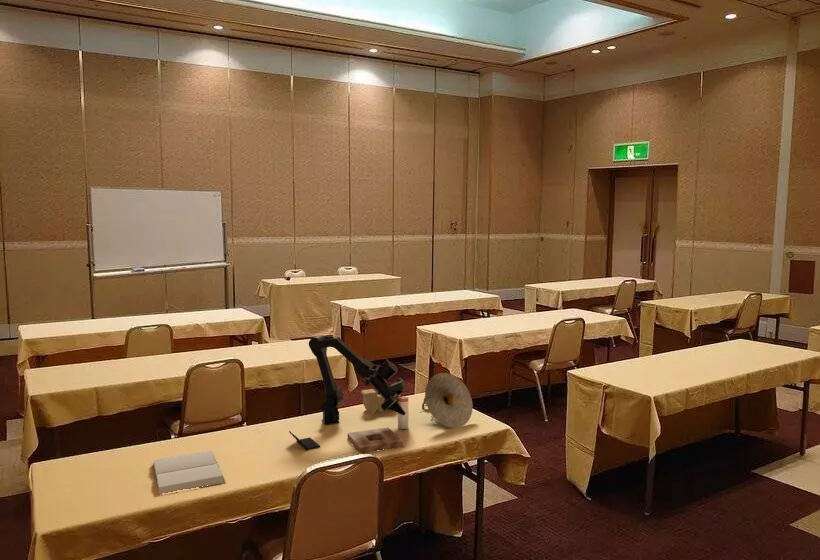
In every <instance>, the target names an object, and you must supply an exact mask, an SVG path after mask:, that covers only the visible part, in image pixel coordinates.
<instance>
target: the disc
mask: <svg viewBox="0 0 820 560" xmlns="http://www.w3.org/2000/svg"><path fill="white" fill-rule="evenodd" d="M424 391H425V392H424V398H425V400H426V403H424V407H427V409H425V410H422V411H420V412H418V413H425V412H428V411H429V413H430V415H431V419H430V422H432V421H433V420H434V419H435V420H436V421H437V422H438V423H440V424H441V425H442V426H444V427H447V428H452V429H457V428H460V427H463V426H464V425H466V424H467V423H468V422H469V421H470V418H471V417H472V414H473V406H474V404H473V400H472V399H473V398H472V397H471V396H472V395H471V392H470V391H469V389H468V387H467V386H466V384H465V383H464V382H463V381H462V380H461V379H460V378H458V377H457V376H455V375H453V374H451V373H448V372H442V373H441V372H440V373H436V374H435V375H433V376H431V378H430V379H429V380H428V382H427V383H426V386H425V390H424Z"/></svg>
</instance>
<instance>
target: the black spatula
mask: <svg viewBox="0 0 820 560" xmlns="http://www.w3.org/2000/svg"><path fill="white" fill-rule="evenodd" d="M288 433H289V434H290V435H291V436H292V437H293V438H294V439H295V440H296V443H297V444H299V445H300V446H301V447H302V448H303V449H304V450H305V451H311V450H314V449H315V450H316V449H319V448H321V445H320V444H319V443H318V442H317V441H315V440H314V439H312V437H305V438H299V437H297V435H295V434H294V433H293V432H292V431H290V430H288Z"/></svg>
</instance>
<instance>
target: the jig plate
mask: <svg viewBox="0 0 820 560" xmlns="http://www.w3.org/2000/svg"><path fill="white" fill-rule="evenodd" d="M347 440H348V441H349V443H350V444H351V443H352V444H353V445H352V444H351V445H352V446H353V447H354V448H355V450H356V451H357V452H358V453H359V454H360V453H362V454H368V453H375V452H378V451H377V450H381V451H386V450H385V449H387V450H392V448H394V449H398V447H400V448H404V440H403V439H402V438H401V437H400V436H399V435H398V434H396V433H395V432H394V431H393V430H392V428H390V427H388V426H387V427H381V428H374V429H367V430H361V431H360V430H359V431H353V432H347ZM372 440H373V441H372ZM383 449H384V450H383ZM374 451H375V452H374Z"/></svg>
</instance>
